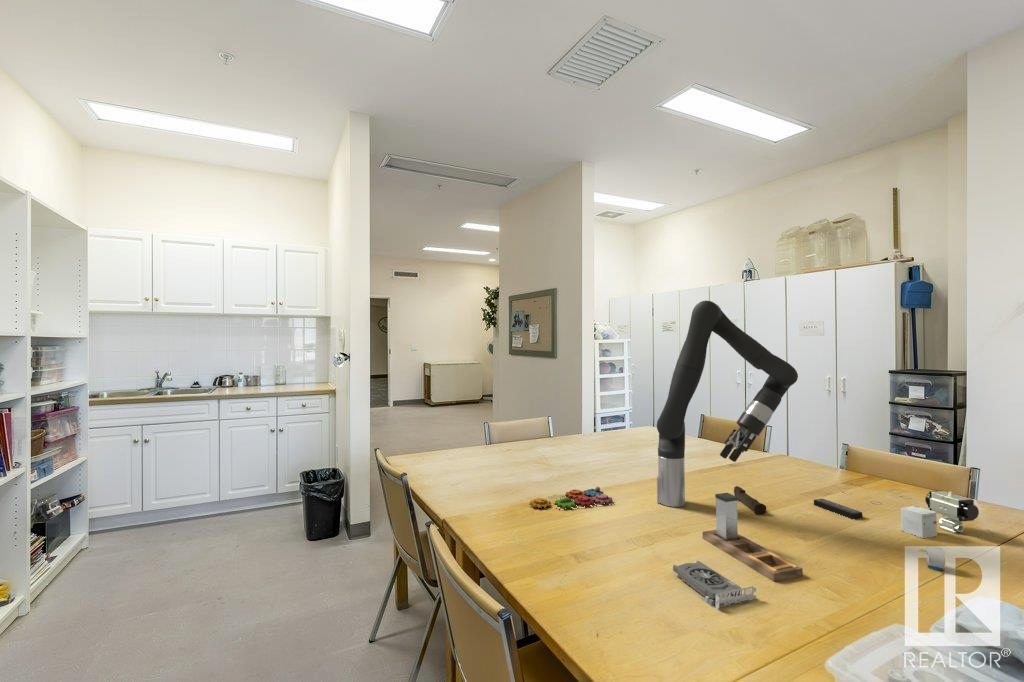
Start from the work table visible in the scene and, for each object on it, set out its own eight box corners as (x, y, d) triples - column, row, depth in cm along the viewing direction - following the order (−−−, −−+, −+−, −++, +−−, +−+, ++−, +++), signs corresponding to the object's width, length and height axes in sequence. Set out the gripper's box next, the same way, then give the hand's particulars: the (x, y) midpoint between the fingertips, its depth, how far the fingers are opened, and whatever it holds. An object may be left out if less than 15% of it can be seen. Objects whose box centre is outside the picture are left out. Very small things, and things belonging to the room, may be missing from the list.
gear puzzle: (535, 515, 158) (535, 503, 158) (522, 500, 174) (522, 489, 174) (616, 506, 166) (616, 495, 166) (597, 492, 182) (596, 482, 182)
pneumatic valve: (937, 522, 147) (936, 485, 147) (979, 538, 136) (979, 497, 136) (922, 524, 146) (922, 486, 146) (964, 539, 135) (963, 498, 135)
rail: (702, 538, 137) (702, 530, 137) (727, 534, 140) (727, 527, 140) (773, 581, 112) (773, 572, 112) (802, 576, 115) (802, 567, 115)
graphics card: (760, 587, 104) (717, 596, 101) (760, 604, 104) (717, 613, 100) (707, 556, 120) (668, 562, 117) (707, 570, 120) (668, 577, 116)
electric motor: (918, 559, 123) (918, 540, 123) (943, 564, 120) (942, 545, 120) (920, 569, 118) (919, 550, 118) (945, 575, 115) (945, 555, 115)
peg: (715, 541, 135) (715, 494, 135) (727, 539, 137) (727, 492, 137) (726, 547, 131) (725, 498, 131) (738, 545, 132) (737, 497, 133)
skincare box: (922, 539, 135) (922, 514, 135) (900, 531, 141) (900, 507, 141) (937, 536, 137) (937, 512, 137) (914, 528, 143) (914, 505, 143)
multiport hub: (853, 520, 150) (853, 513, 150) (813, 505, 164) (813, 499, 164) (863, 519, 152) (863, 512, 152) (822, 504, 166) (822, 498, 166)
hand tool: (767, 515, 155) (767, 502, 155) (755, 515, 155) (754, 502, 155) (742, 497, 174) (742, 484, 174) (731, 496, 174) (731, 484, 174)
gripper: (736, 410, 157) (709, 449, 156) (753, 411, 143) (724, 453, 142) (756, 423, 155) (729, 462, 155) (775, 425, 141) (745, 468, 141)
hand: (726, 458), depth 148 cm, fingers open, 8 cm apart
